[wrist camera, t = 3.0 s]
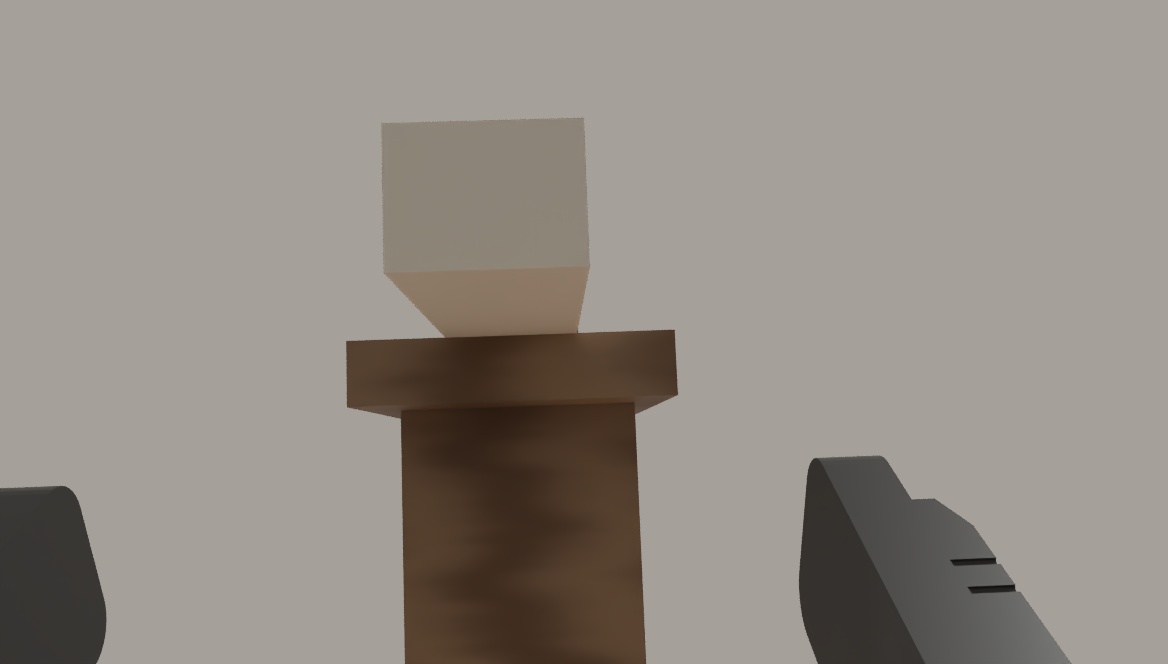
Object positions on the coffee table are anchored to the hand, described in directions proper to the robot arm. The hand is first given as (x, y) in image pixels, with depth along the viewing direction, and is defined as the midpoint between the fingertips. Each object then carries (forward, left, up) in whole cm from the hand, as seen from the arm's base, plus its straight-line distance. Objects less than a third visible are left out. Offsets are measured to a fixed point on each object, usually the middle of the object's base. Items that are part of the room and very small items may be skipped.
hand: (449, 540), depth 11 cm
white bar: (0, +22, +2) cm, 22 cm away
